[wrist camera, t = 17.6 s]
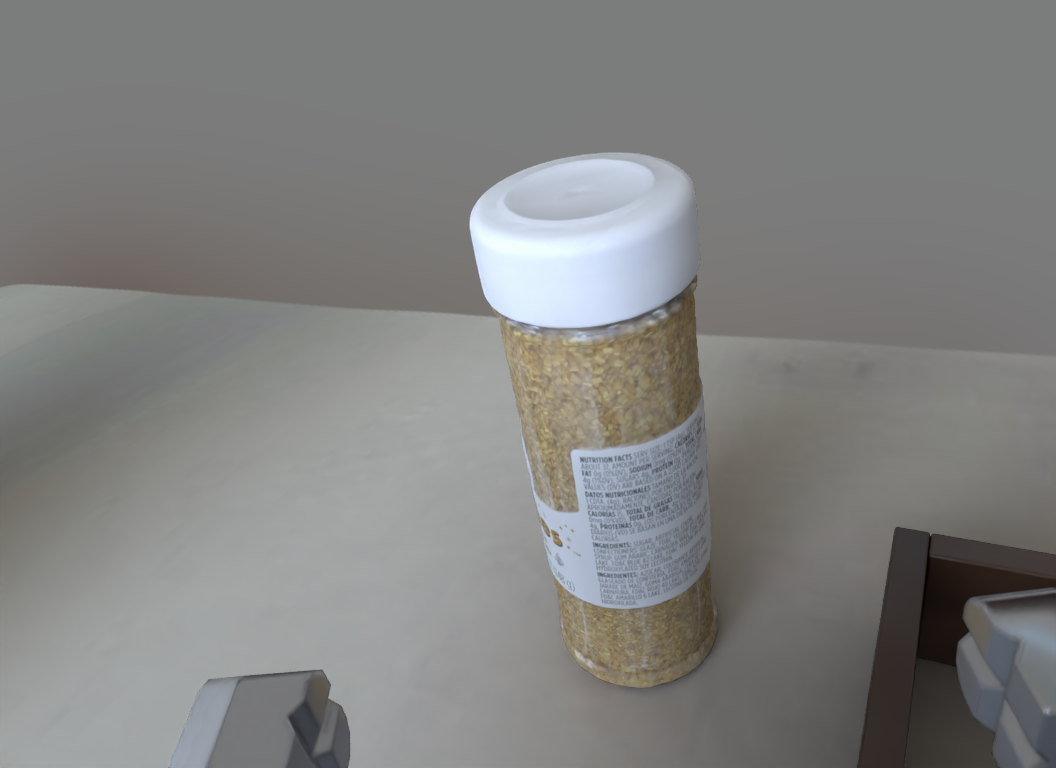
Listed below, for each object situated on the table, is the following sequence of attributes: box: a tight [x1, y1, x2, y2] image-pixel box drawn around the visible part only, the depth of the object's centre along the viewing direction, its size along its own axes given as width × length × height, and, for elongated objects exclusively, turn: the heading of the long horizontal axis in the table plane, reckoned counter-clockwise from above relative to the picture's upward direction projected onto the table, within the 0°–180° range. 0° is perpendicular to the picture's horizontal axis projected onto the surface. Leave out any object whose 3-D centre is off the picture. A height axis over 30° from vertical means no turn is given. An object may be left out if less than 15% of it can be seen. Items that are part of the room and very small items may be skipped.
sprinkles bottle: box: [470, 153, 718, 688], centre depth 20 cm, size 5×5×14 cm
